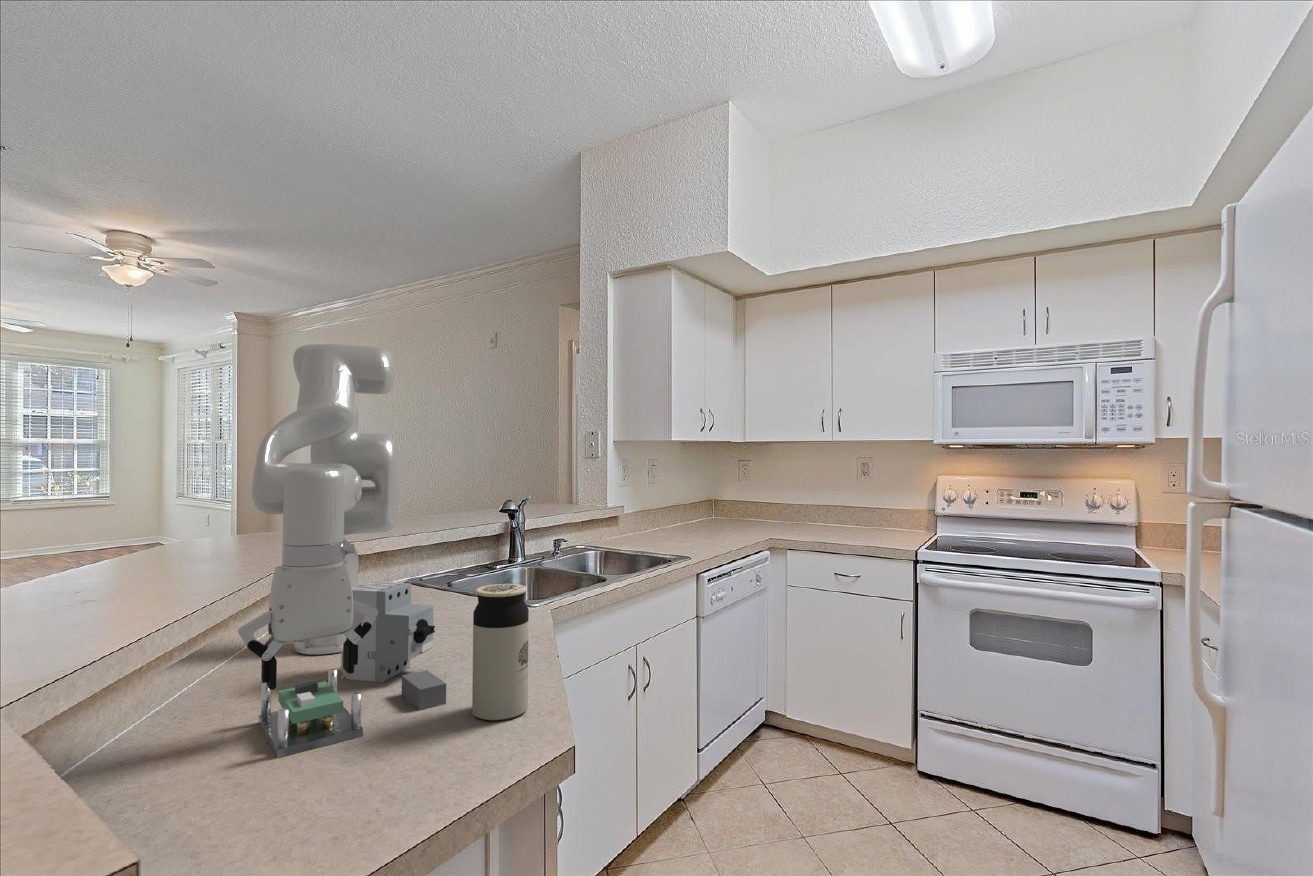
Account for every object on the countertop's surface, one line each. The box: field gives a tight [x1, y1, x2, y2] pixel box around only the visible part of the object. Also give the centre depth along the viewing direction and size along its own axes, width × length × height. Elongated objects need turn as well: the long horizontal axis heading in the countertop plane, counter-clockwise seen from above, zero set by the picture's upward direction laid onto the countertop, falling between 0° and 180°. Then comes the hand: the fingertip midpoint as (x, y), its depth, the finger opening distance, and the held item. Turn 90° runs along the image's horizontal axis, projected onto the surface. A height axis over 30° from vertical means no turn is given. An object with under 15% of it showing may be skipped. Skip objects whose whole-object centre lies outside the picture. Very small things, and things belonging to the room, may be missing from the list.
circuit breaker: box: [340, 581, 436, 683], centre depth 110 cm, size 8×14×15 cm, turn 78°
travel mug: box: [471, 583, 530, 722], centre depth 94 cm, size 8×8×18 cm
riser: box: [401, 670, 447, 711], centre depth 98 cm, size 8×4×3 cm, turn 40°
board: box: [278, 679, 344, 724], centre depth 87 cm, size 10×6×2 cm, turn 40°
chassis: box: [258, 668, 364, 759], centre depth 87 cm, size 14×10×6 cm
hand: (311, 678), depth 88 cm, fingers open, 9 cm apart
